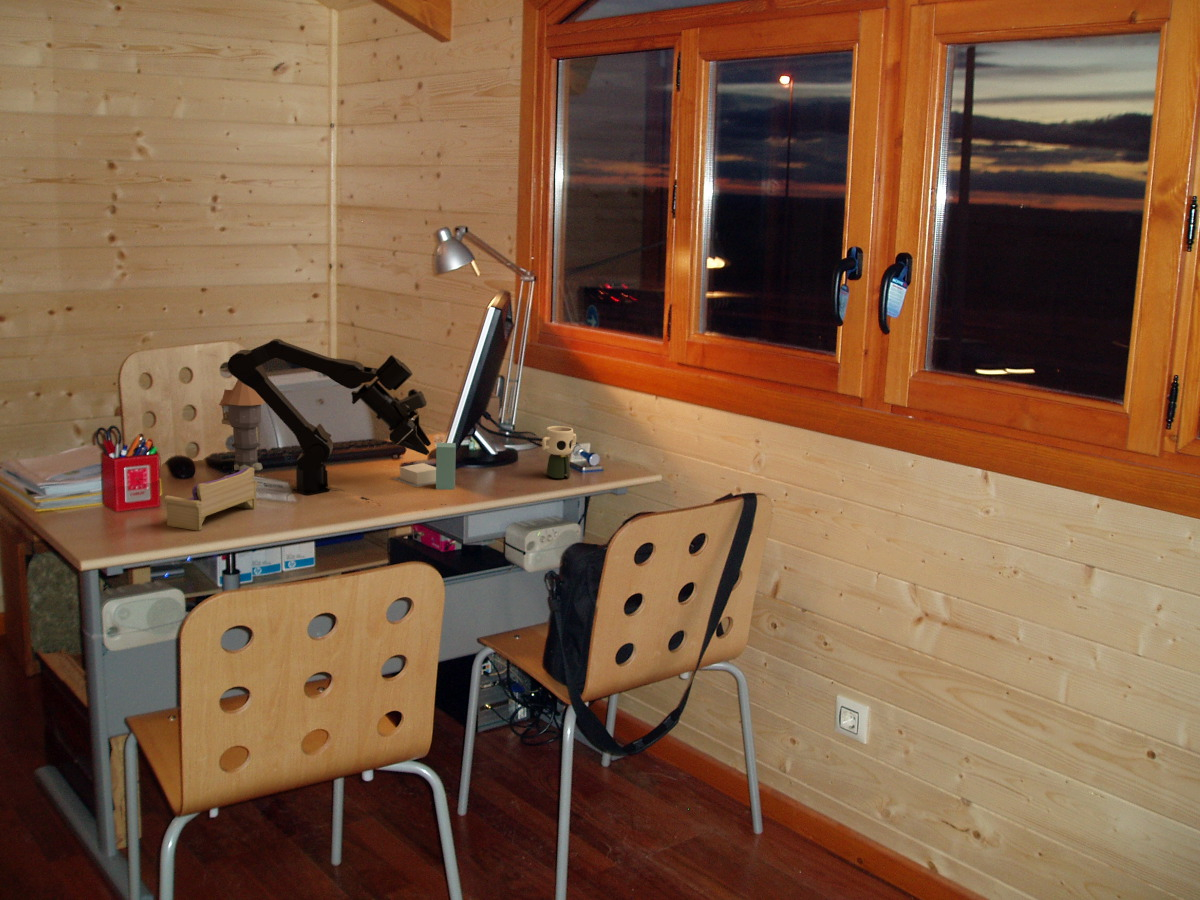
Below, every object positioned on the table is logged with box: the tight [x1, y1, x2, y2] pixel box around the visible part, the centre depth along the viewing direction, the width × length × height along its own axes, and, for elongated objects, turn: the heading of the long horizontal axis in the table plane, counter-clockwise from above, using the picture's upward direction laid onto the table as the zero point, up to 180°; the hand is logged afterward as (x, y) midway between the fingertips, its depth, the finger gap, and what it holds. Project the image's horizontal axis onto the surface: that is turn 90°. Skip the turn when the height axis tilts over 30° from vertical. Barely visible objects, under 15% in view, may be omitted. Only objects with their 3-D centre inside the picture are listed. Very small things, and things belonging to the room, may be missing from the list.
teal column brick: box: [435, 442, 457, 491], centre depth 274 cm, size 4×4×12 cm
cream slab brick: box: [399, 462, 436, 485], centre depth 280 cm, size 7×7×3 cm
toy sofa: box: [163, 467, 259, 532], centre depth 247 cm, size 21×9×10 cm, turn 160°
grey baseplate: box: [391, 476, 436, 488], centre depth 281 cm, size 10×10×2 cm
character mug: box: [541, 425, 577, 479], centre depth 294 cm, size 11×7×13 cm, turn 130°
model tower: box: [218, 379, 266, 472], centre depth 287 cm, size 10×11×30 cm
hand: (429, 449), depth 272 cm, fingers open, 9 cm apart
